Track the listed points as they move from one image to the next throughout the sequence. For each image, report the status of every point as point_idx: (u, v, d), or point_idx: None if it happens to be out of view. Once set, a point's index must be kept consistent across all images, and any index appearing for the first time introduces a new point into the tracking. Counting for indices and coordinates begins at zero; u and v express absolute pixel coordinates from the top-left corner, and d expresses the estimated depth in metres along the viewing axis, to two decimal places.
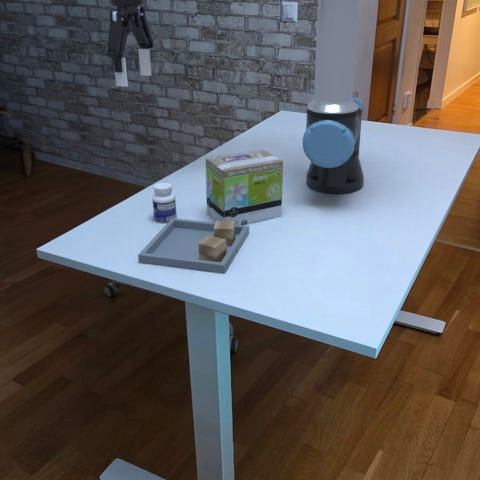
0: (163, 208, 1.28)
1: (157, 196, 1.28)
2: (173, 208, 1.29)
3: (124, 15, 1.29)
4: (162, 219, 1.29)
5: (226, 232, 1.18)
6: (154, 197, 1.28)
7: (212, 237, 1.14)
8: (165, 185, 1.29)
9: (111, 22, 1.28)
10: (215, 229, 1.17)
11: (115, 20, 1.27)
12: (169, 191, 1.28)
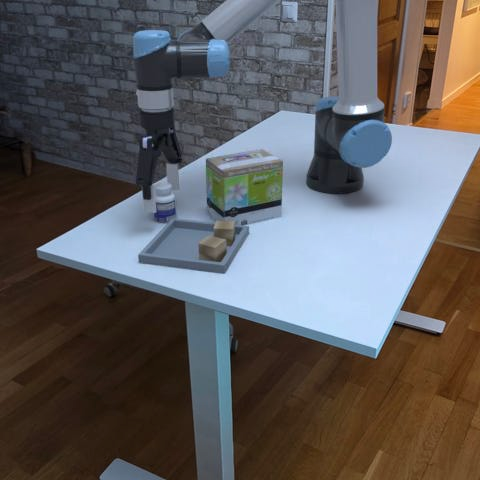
0: (163, 208, 1.28)
1: (157, 196, 1.28)
2: (173, 208, 1.29)
3: (155, 140, 1.19)
4: (162, 219, 1.29)
5: (226, 232, 1.18)
6: None
7: (212, 237, 1.14)
8: (165, 185, 1.29)
9: (141, 149, 1.18)
10: (215, 229, 1.17)
11: (145, 147, 1.17)
12: (169, 191, 1.28)
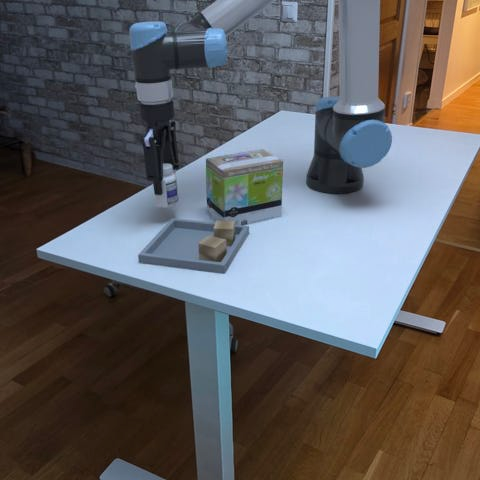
0: None
1: None
2: (174, 188, 1.27)
3: (156, 134, 1.19)
4: None
5: (226, 232, 1.18)
6: None
7: (212, 237, 1.14)
8: (166, 165, 1.27)
9: (144, 148, 1.18)
10: (215, 229, 1.17)
11: (148, 146, 1.18)
12: (170, 171, 1.25)
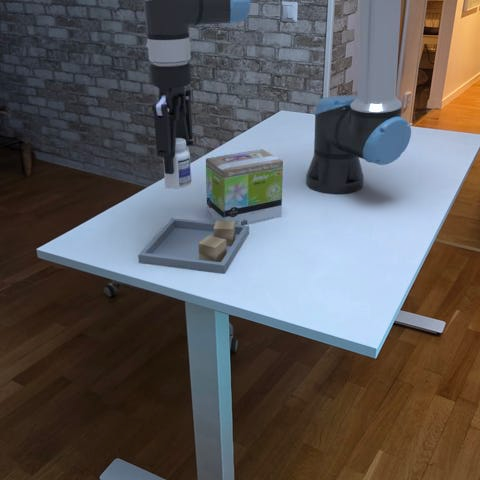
0: None
1: None
2: (187, 167, 1.10)
3: (169, 101, 1.02)
4: None
5: (226, 232, 1.18)
6: None
7: (212, 237, 1.14)
8: (178, 140, 1.09)
9: (156, 117, 1.01)
10: (215, 229, 1.17)
11: (160, 115, 1.01)
12: (183, 147, 1.08)
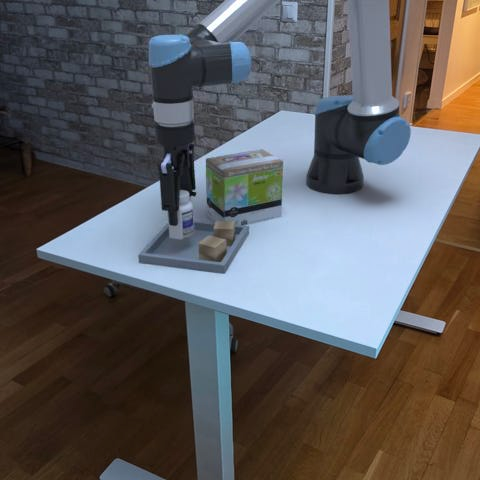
0: None
1: None
2: (190, 218, 1.15)
3: (173, 159, 1.07)
4: None
5: (226, 232, 1.18)
6: None
7: (212, 237, 1.14)
8: (182, 192, 1.14)
9: (161, 174, 1.06)
10: (215, 229, 1.17)
11: (165, 173, 1.06)
12: (186, 200, 1.13)
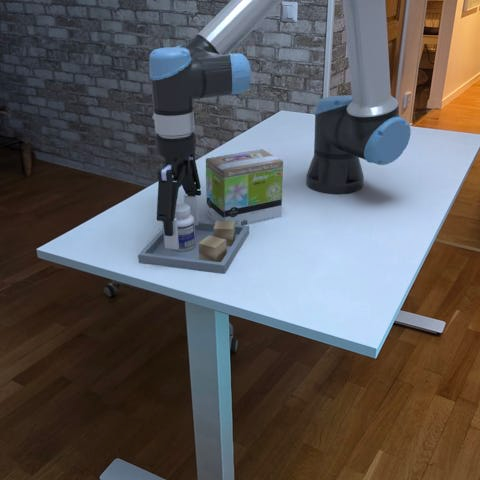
0: (181, 232, 1.15)
1: None
2: (192, 232, 1.16)
3: (174, 169, 1.08)
4: (180, 244, 1.16)
5: (226, 232, 1.18)
6: None
7: (212, 237, 1.14)
8: (183, 206, 1.16)
9: (160, 182, 1.06)
10: (215, 229, 1.17)
11: (165, 180, 1.06)
12: (188, 214, 1.15)
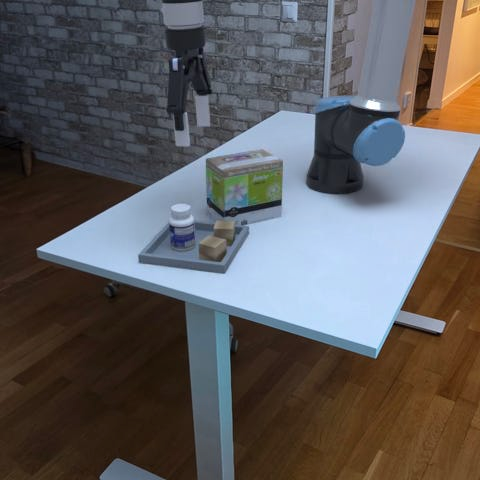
0: (181, 232, 1.15)
1: (174, 219, 1.15)
2: (192, 232, 1.16)
3: (185, 61, 1.06)
4: (180, 244, 1.16)
5: (226, 232, 1.18)
6: (171, 220, 1.15)
7: (212, 237, 1.14)
8: (183, 206, 1.16)
9: (171, 71, 1.04)
10: (215, 229, 1.17)
11: (176, 69, 1.04)
12: (188, 213, 1.15)
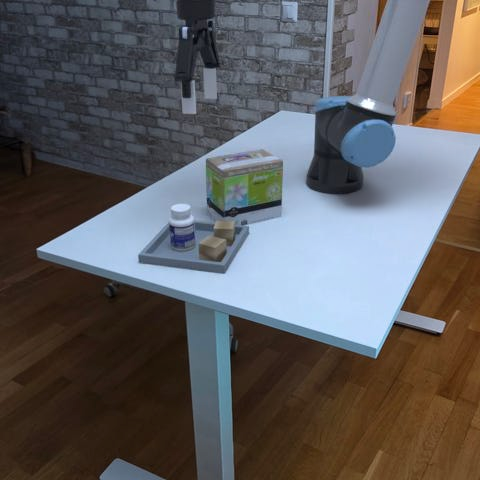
0: (181, 232, 1.15)
1: (174, 219, 1.15)
2: (192, 232, 1.16)
3: (194, 31, 1.10)
4: (180, 244, 1.16)
5: (226, 232, 1.18)
6: (171, 220, 1.15)
7: (212, 237, 1.14)
8: (183, 206, 1.16)
9: (180, 39, 1.08)
10: (215, 229, 1.17)
11: (185, 37, 1.08)
12: (188, 213, 1.15)
